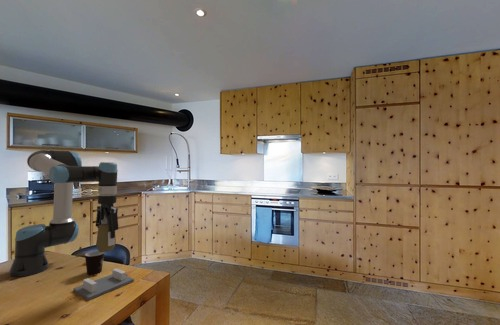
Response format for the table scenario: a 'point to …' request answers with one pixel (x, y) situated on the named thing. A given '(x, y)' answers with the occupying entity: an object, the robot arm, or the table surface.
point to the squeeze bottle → (103, 237)
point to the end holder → (103, 284)
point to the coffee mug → (94, 262)
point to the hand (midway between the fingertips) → (106, 243)
